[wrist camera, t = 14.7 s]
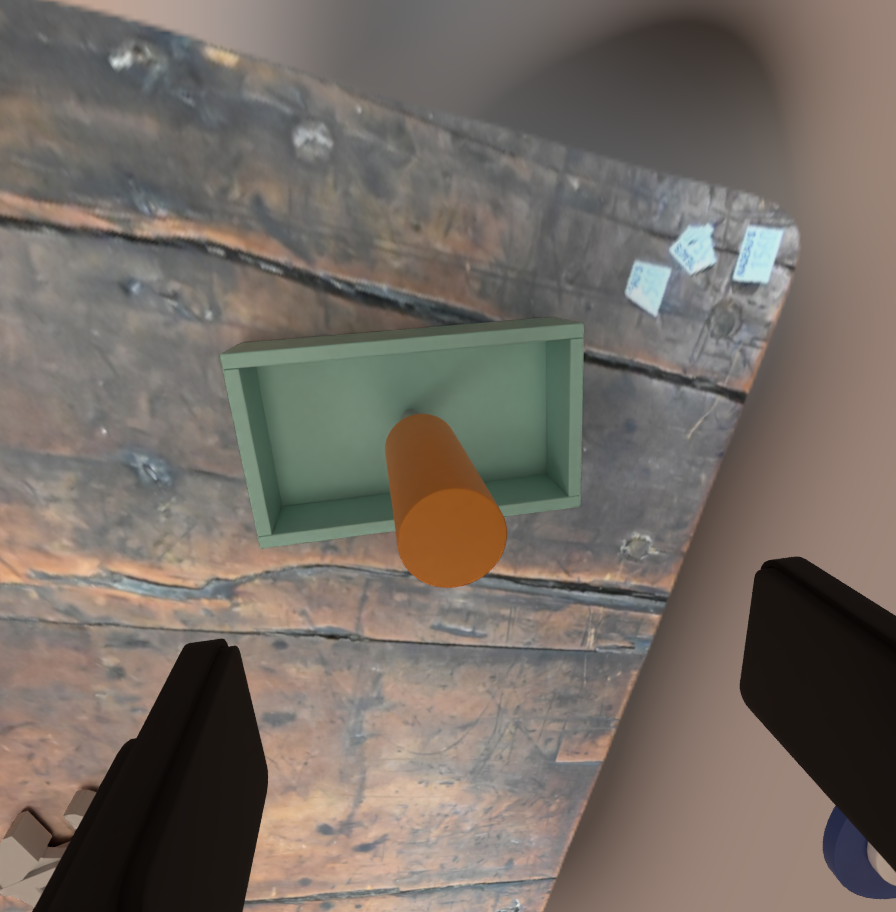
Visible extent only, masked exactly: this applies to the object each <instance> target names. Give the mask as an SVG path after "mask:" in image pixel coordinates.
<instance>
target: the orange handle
mask: <svg viewBox="0 0 896 912" xmlns="http://www.w3.org/2000/svg"><path fill="white" fill-rule="evenodd" d="M400 420H401V421H399V422H398V423H397V424H396V425H395V426H394V427H393V428H392V430H391V431H390V433H389V435H388V437H387V440H386V444H385V456H386V463H387V471H388V478H389V486H390V493H391V501H392V508H393V516H394V523H395V531H396V538H397V546H398V551H399V555H400V558H401V560H402V562H403V564H404V565H405V567H406V568H407V570H408V571H409V572H410V573H411V574H412V575H414V576H415V577H416V578H417V579H419V580H421V581H423V582H424V583H427V584H429V585H433V586H437V587H446V588H451V587H459V586H464V585H467V584H470V583H472V582H474V581H477V580H478V579H480V578H482V577H483V576H484V575H486V574H487V573H488V572H489V571H490V570H491V569H492V568H493V567H494V566H495V565H496V564H497V562H498V561H499V559H500V558H501V555H502V553H503V551H504V548H505V545H506V540H507V527H506V522H505V518H504V516H503V514H502V512H501V510H500V509H499V507H498V505H497V504H496V502H495V500H494V499H493V497H492V495H491V494H490V492H489V490H488V488H487V487H486V485H485V483H484V482H483V480H482V478H481V477H480V475H479V473H478V472H477V470H476V468H475V467H474V465H473V463H472V462H471V460H470V458H469V457H468V455H467V453H466V452H465V450H464V448H463V447H462V445H461V443H460V442H459V440H458V438H457V437H456V435H455V433H454V432H453V430H452V428H451V427H450V426H449V425H448V424H447V423H446V422H445V421H444V420H442V419H441V418H439V417H436V416H434V415H430V414H420V413H419V412H418V411H417V410H414V409H409V410H406V411H405V412H403V414H402V415H401V419H400Z"/></svg>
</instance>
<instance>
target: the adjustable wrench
mask: <svg viewBox="0 0 896 912" xmlns="http://www.w3.org/2000/svg"><path fill="white" fill-rule="evenodd" d="M95 794H96V792H94V791H90V790H81V791H77V792H76V794H75V795H74V797H73V799H72V801H71V803H70V805H69V806H68V808H67V810H66V812H65V814H64V815H63V817H64V818H65V819H66V820H67V821H68V822H69V823H70V824H71V825H72V826H73V827H74V828H75V829H76V830H77V828H78V826H79V824H80V822H81V820H82V818H83V817H84V815H85V813H86V811H87V809H88V807H89V805H90V804H91V802H92V800H93V798H94V796H95ZM51 838H52V835H51V834H50V833H49V832H48V831H47V830H46V829H45V828H44V827H43V826H42V825H41V824H40V823H39V822H38V821H37V820H36V819H35V818H34V817H33V816H32V815H31V814H30V813H29V812H28V811H25V812H22V813H19V814H18V816H17V818H16V819H15V821H14V822H13V824H12V826H11V827H10V829H9V830H8V832H7V833H6V835H5V837H4V838H3V840H2V841H1V843H0V895H3V896H10V897H13V898H16V899H19V900H21V901H24V902H25V903H27V904H29V905H31V906H32V907H35V906H36V904H37V902H38V900H39V898H40V896H41V894H42V893H43V891H44V889H45V887H46V885H47V883H48V881H49V880H50V878H51V876H52V874H53V872H54V870H55V868H56V867H57V865H58V863H59V861H60V859H61V857H62V855H63V854H64V852H65V850H66V848H67V846H68V844H69V843H70V841H69V842H67V843H64V844H62V845H59V846H57V847H48V846H47V845H48V843H49V841H50V840H51Z"/></svg>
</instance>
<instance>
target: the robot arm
mask: <svg viewBox="0 0 896 912" xmlns="http://www.w3.org/2000/svg"><path fill="white" fill-rule="evenodd" d="M740 692H741V695H742V698H743V700H744V702H745V704H746V705H747V706H748V708H749V709H750V710H751V711H752V712H753V713H754V715H755V716H756V717H757V718H758V719H759V720H760V721H761V722H762V723H763V725H764V726H765V727H766V728H767V729H768V730H769V731H770V732H771V734H772V735H773V736H774V737H775V738H776V739H777V740H778V741H779V742H780V744H781V745H782V746H783V747H784V748H785V749H786V750H787V751H788V752H789V753H790V755H791V756H792V757H793V758H794V759H795V760H796V761H797V762H798V764H799V765H800V766H801V767H802V768H803V769H804V770H805V771H806V773H807V774H808V775H809V776H810V777H811V778H812V779H813V780H814V781H815V783H816V784H817V785H818V786H819V787H820V788H821V789H822V791H823V792H824V793H825V794H826V795H827V796H828V797H829V798H830V799H831V801H832V802H833V803H834V804H835V805H836V806H837V807H838V808H839V809H840V811H841V812H842V813H843V814H844V815H845V816H846V817H847V818H848V820H849V821H850V822H851V823H852V824H853V825H854V826H855V827H856V828H857V830H858V831H859V832H860V833H861V834H862V835H863V836H864V837H865V839H866V840H867V841H868V845H867V854H868V860H869V862H870V863H871V865H872V867H873V868H874V869H875V870H876V871H877V872H878V874H879V875H880V876H881V877H882V878H883V879H884V880H885V881H887V882H888V883H890V884H892V885H895V886H896V616H895V615H893V614H892V613H890V612H889V611H887V610H886V609H884V608H882V607H881V606H879V605H878V604H876V603H874V602H873V601H871V600H870V599H868V598H866V597H865V596H863V595H862V594H860V593H858V592H857V591H855V590H854V589H852V588H851V587H849V586H847V585H846V584H844V583H842V582H841V581H839V580H838V579H836V578H835V577H833V576H831V575H830V574H828V573H827V572H825V571H823V570H822V569H820V568H819V567H817V566H815V565H814V564H812V563H811V562H809V561H808V560H806V559H804V558H802V557H789V558H781V559H774V560H768V561H766V562H764V564H763V565H762V567H761V570H759V571H757V573H756V574H755V578H754V585H753V592H752V599H751V606H750V614H749V621H748V629H747V635H746V643H745V650H744V658H743V665H742V672H741V679H740ZM267 787H268V769H267V764H266V759H265V755H264V751H263V747H262V743H261V738H260V734H259V730H258V726H257V722H256V717H255V713H254V709H253V705H252V700H251V696H250V692H249V688H248V684H247V679H246V675H245V671H244V667H243V663H242V658H241V654H240V651H239V648H238V647H237V646H230V647H228V644H227V642H226V641H225V639H215V640H208V641H201V642H194V643H188V644H186V645H185V646H184V648H183V649H182V651H181V653H180V655H179V657H178V659H177V661H176V663H175V665H174V667H173V668H172V670H171V672H170V674H169V676H168V678H167V680H166V682H165V684H164V686H163V688H162V690H161V692H160V694H159V696H158V698H157V699H156V701H155V703H154V705H153V707H152V709H151V711H150V713H149V715H148V717H147V719H146V721H145V723H144V725H143V727H142V729H141V731H140V732H139V734H138V736H137V738H135V739H130V740H129V741H128V742H126V743H125V744H124V745H123V746H122V748H121V749H120V751H119V752H118V754H117V755H116V757H115V759H114V761H113V763H112V765H111V767H110V768H109V770H108V772H107V774H106V776H105V778H104V780H103V781H102V783H101V785H100V787H99V789H98V791H97V792H96V794H95V796H94V798H93V800H92V802H91V804H90V805H89V807H88V809H87V811H86V813H85V815H84V817H83V818H82V820H81V822H80V824H79V826H78V828H77V830H76V831H75V833H74V835H73V837H72V839H71V841H70V843H69V844H68V846H67V848H66V850H65V852H64V854H63V855H62V857H61V859H60V861H59V863H58V865H57V867H56V868H55V870H54V872H53V874H52V876H51V878H50V880H49V881H48V883H47V885H46V887H45V889H44V891H43V893H42V894H41V896H40V898H39V900H38V902H37V904H36V906H35V907H34V909H33V911H32V912H242V911H243V907H244V902H245V897H246V892H247V887H248V882H249V877H250V872H251V867H252V862H253V857H254V853H255V848H256V843H257V838H258V833H259V828H260V823H261V818H262V813H263V808H264V804H265V799H266V794H267Z"/></svg>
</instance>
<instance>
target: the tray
mask: <svg viewBox="0 0 896 912" xmlns="http://www.w3.org/2000/svg"><path fill="white" fill-rule="evenodd" d="M583 337H584V323H581V322H576V321H571V320H566V319H561V318H556V317H545V318H533V319H521V320H509V321H497V322H485V323H473V324H461V325H449V326H437V327H425V328H413V329H401V330H389V331H377V332H365V333H353V334H341V335H329V336H317V337H305V338H293V339H282V340H270V341H258V342H246V343H240V344H238V345H236V346H235V347H233V348H231V349H229V350H227V351H225V352H223V353H222V354H220V360H221V365H222V368H223V369H224V370H223V375H224V380H225V384H226V389H227V394H228V399H229V403H230V408H231V413H232V418H233V422H234V427H235V432H236V437H237V441H238V446H239V451H240V456H241V460H242V465H243V470H244V475H245V479H246V484H247V489H248V494H249V498H250V503H251V508H252V513H253V517H254V522H255V527H256V531H257V536H258V540H259V545H260V548H261V549H263V548H270V547H278V546H285V545H293V544H301V543H308V542H316V541H323V540H331V539H339V538H346V537H354V536H361V535H369V534H377V533H384V532H392V531H395V523H394V516H393V508H392V501H391V493H390V486H389V478H388V471H387V463H386V456H385V444H386V440H387V437H388V435H389V433H390V431H391V430H392V428H393V427H394V426H395V425H396V424H397V423H398V422H399V421H401V420H400V419H401V415H402V414H403V412H405V411H406V410H409V409H414V410H417V411H418V412H419V413H420V414H430V415H434V416H436V417H439V418H441V419H442V420H444V421H445V422H446V423H447V424H448V425H449V426H450V427H451V428H452V430H453V432H454V433H455V435H456V437H457V438H458V440H459V442H460V443H461V445H462V447H463V448H464V450H465V452H466V453H467V455H468V457H469V458H470V460H471V462H472V463H473V465H474V467H475V468H476V470H477V472H478V473H479V475H480V477H481V478H482V480H483V482H484V483H485V485H486V487H487V488H488V490H489V492H490V494H491V495H492V497H493V499H494V500H495V502H496V504H497V505H498V507H499V509H500V510H501V512H502V514H503V516H504V517H506V516H514V515H521V514H529V513H536V512H544V511H552V510H559V509H567V508H574V507H580V499H581V496H580V495H581V457H582V407H583V357H584V338H583Z"/></svg>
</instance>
